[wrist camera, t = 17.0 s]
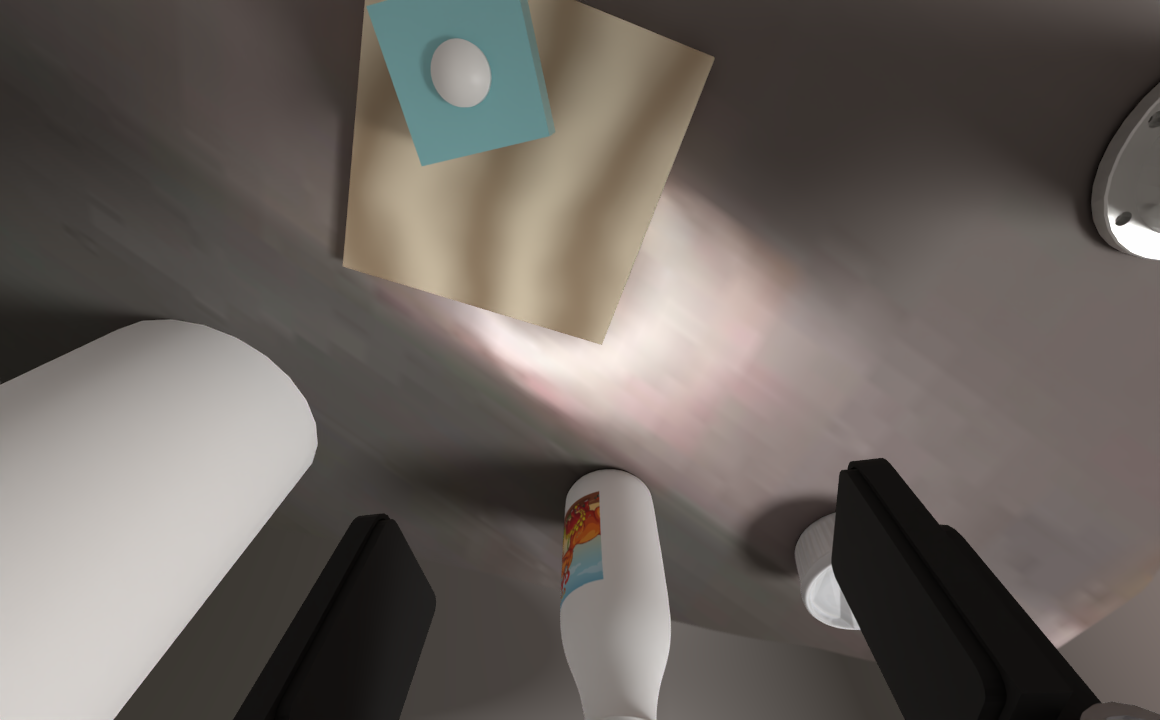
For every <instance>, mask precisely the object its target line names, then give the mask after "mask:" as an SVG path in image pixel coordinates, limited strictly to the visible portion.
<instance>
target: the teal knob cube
mask: <svg viewBox="0 0 1160 720" xmlns="http://www.w3.org/2000/svg"><path fill="white" fill-rule="evenodd" d="M366 7H367V10H368V13H369V16H370V19H371V22H372V24H373V27H374V30H375V33H376V36H377V39H378V42H379V45H380V48H381V50H382V53H383V56H384V59H385V62H386V65H387V68H388V71H389V73H390V76H391V79H392V82H393V85H394V88H395V91H396V94H397V97H398V99H399V102H400V105H401V108H402V111H403V114H404V117H405V120H406V122H407V125H408V128H409V131H410V134H411V137H412V140H413V143H414V146H415V148H416V151H417V154H418V157H419V160H420V163H421V166H426V165H430V164H434V163H438V162H443V161H447V160H451V159H455V158H460V157H464V156H468V155H472V154H476V153H481V152H485V151H489V150H493V149H498V148H502V147H506V146H510V145H514V144H519V143H523V142H527V141H531V140H536V139H540V138H544V137H548V136H551V135H552V134H553V133H555V127H554V122H553V118H552V113H551V108H550V104H549V99H548V94H547V89H546V85H545V80H544V75H543V71H542V66H541V61H540V57H539V52H538V47H537V42H536V38H535V33H534V28H533V24H532V19H531V14H530V10H529V5H528V0H386V1H383V2H379V3H376V4H372V5H368V6H366Z"/></svg>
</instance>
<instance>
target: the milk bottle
mask: <svg viewBox="0 0 1160 720" xmlns="http://www.w3.org/2000/svg"><path fill="white" fill-rule="evenodd" d="M560 606H561V607H560V609H561V610H560V622H561V623H560V624H561V636H562V641H563V647H564V651H565V655H566V658H567V661H568V664H569V667H570V669H571V672H572V674H573V677H574V679H575V682H576V685H577V687H578V691H579V694H580V698H581V702H582V707H583V712H584V718H585V720H657V719H656V712H657V701H658V694H659V688H660V684H661V680H662V677H663V673H664V670H665V666H666V662H667V658H668V654H669V648H670V638H671V620H670V611H669V602H668V594H667V587H666V581H665V574H664V568H663V561H662V555H661V549H660V543H659V537H658V530H657V524H656V518H655V512H654V507H653V502H652V497H651V494H650V491H649V490H648V488H647V487H646V485H645V484H644V483H643V482H642V481H641V480H640V479H638V478H637V477H636V476H634V475H632V474H630V473H628V472H625V471H621V470H615V469H604V470H597V471H594V472H591V473H588V474H586V475H584V476H582V477H581V478H580V479H579V480H577V481H576V482H575V484H574V485H573V486H572V487H571V489H570V490H569V492H568V494H567V497H566V505H565V519H564V537H563V555H562V577H561V603H560Z"/></svg>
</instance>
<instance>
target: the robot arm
mask: <svg viewBox="0 0 1160 720" xmlns="http://www.w3.org/2000/svg"><path fill="white" fill-rule="evenodd" d="M1091 208H1092V215H1093V221H1094V223H1095V226H1096V228H1097V230H1098V232H1099V235H1100V236H1101V237H1102V238H1103V239H1104V240H1105V241H1106V242H1107V243H1108V244H1109V245H1110V246H1112V247H1113V248H1115V249H1117V250H1119V251H1120V252H1122V253H1125V254H1129V255H1132V256H1136V257H1139V258H1142V259H1149V260H1156V261H1160V83H1159V84H1158V85H1156V86H1155V87H1154V88H1153V89H1152V90H1151V91H1150V92H1149V93H1148V94H1147V95H1146V96H1145V97H1144V98H1143V99H1142V100H1141V101H1140V103H1139V104H1138V105H1137V106H1136V107H1135V109H1134V110H1133V111H1132V112H1131V113H1130V114H1129V116H1128V117H1127V118H1126V119H1125V120H1124V122H1123V124H1122V125H1121V127H1120V128H1119V130H1118V131H1117V133H1116V134H1115V136H1114V137H1113V139H1112V140H1111V142H1110V143H1109V145H1108V148H1107V150H1106V152H1105V154H1104V156H1103V158H1102V160H1101V162H1100V164H1099V167H1098V170H1097V174H1096V177H1095V180H1094V184H1093V190H1092V200H1091ZM831 564H832V569H833V573H834V576H835V578H836V581H837V583H838V585H839V587H840V589H841V591H842V593H843V595H844V597H845V599H846V601H847V603H848V605H849V607H850V609H851V611H852V613H853V615H854V617H855V619H856V621H857V623H858V625H859V627H860V629H861V631H862V633H863V635H864V637H865V639H866V642H867V644H868V646H869V648H870V650H871V652H872V654H873V656H874V658H875V660H876V662H877V664H878V666H879V668H880V670H881V672H882V674H883V676H884V678H885V680H886V682H887V684H888V686H889V688H890V690H891V692H892V694H893V696H894V698H895V700H896V702H897V704H898V707H899V709H900V711H901V713H902V715H903V716H904V718H905V720H1160V714H1157V713H1155V712H1152V711H1149V710H1146V709H1144V708H1141V707H1138V706H1135V705H1129V704H1123V703H1116V702H1107V703H1101V702H1100V701H1099V699H1098V698H1097V697H1096V696H1095V695H1094V693H1093V692H1092V691H1091V690H1090V689H1089V687H1088V686H1087V685H1086V684H1085V683H1084V681H1083V680H1082V679H1081V678H1080V677H1079V675H1078V674H1077V673H1076V672H1075V671H1074V669H1073V668H1072V667H1071V666H1070V665H1069V664H1068V662H1067V661H1066V660H1065V659H1064V657H1063V656H1062V655H1061V654H1060V653H1059V651H1058V650H1057V649H1056V648H1055V647H1054V645H1053V644H1052V643H1051V642H1050V641H1049V639H1048V638H1047V637H1046V636H1045V635H1044V633H1043V632H1042V631H1041V630H1040V629H1039V627H1038V626H1037V625H1036V624H1035V623H1034V621H1033V620H1032V619H1031V618H1030V617H1029V615H1028V614H1027V613H1026V612H1025V611H1024V610H1023V608H1022V607H1021V606H1020V605H1019V604H1018V602H1017V601H1016V600H1015V599H1014V598H1013V596H1012V595H1011V594H1010V593H1009V592H1008V590H1007V589H1006V588H1005V587H1004V586H1003V584H1002V583H1001V582H1000V581H999V580H998V578H997V577H996V576H995V575H994V574H993V572H992V571H991V570H990V569H989V568H988V566H987V565H986V564H985V563H984V562H983V560H982V559H981V558H980V557H979V556H978V554H977V553H976V552H975V551H974V550H973V548H972V547H971V546H970V545H969V544H968V542H967V541H966V540H965V539H964V538H963V537H962V536H961V535H960V534H959V533H958V532H957V531H956V530H955V529H953V528H952V527H950V526H948V525H939V524H938V523H937V521H936V520H935V519H934V518H933V516H932V515H931V514H930V513H929V511H928V510H927V509H926V508H925V506H924V505H923V504H922V503H921V501H920V500H919V499H918V498H917V496H916V495H915V494H914V493H913V491H912V490H911V489H910V488H909V486H908V485H907V484H906V483H905V481H904V480H903V479H902V478H901V476H900V475H899V474H898V473H897V471H896V470H895V469H894V468H893V467H892V465H891V464H890V463H889V462H888V461H887V460H886V459H884V458H878V459H869V460H860V461H852V462H850V463H849V465H848V470H841V472H840V475H839V484H838V494H837V505H836V515H835V525H834V535H833V546H832V556H831ZM435 607H436V598H435V594H434V592H433V590H432V588H431V586H430V584H429V582H428V581H427V579H426V577H425V575H424V573H423V571H422V570H421V567H420V566H419V564H418V562H417V560H416V558H415V556H414V554H413V552H412V551H411V549H410V547H409V545H408V543H407V541H406V539H405V538H404V536H403V534H402V532H401V530H400V528H399V526H398V524H397V523H396V521H395V520H393V519H390V518H389V517H388V515H386V514H374V515H365V516H358V517H357V518H355V519H354V520H353V522H352V523H351V525H350V526H349V528H348V530H347V531H346V533H345V535H344V536H343V538H342V540H341V541H340V543H339V544H338V546H337V548H336V549H335V551H334V553H333V555H332V556H331V558H330V559H329V561H328V563H327V565H326V566H325V568H324V569H323V571H322V573H321V575H320V576H319V578H318V580H317V581H316V583H315V585H314V586H313V588H312V589H311V591H310V593H309V595H308V596H307V598H306V600H305V601H304V603H303V604H302V606H301V608H300V610H299V611H298V613H297V614H296V616H295V618H294V619H293V621H292V623H291V624H290V626H289V628H288V629H287V631H286V633H285V634H284V636H283V638H282V639H281V641H280V643H279V644H278V646H277V648H276V649H275V651H274V653H273V654H272V656H271V658H270V659H269V661H268V663H267V664H266V666H265V668H264V669H263V671H262V673H261V674H260V676H259V677H258V679H257V681H256V682H255V684H254V686H253V687H252V689H251V691H250V692H249V694H248V696H247V697H246V699H245V701H244V703H243V704H242V706H241V708H240V709H239V711H238V712H237V714H236V716H235V717H234V719H233V720H399V718H400V715H401V712H402V709H403V706H404V703H405V700H406V697H407V694H408V691H409V687H410V685H411V682H412V679H413V676H414V673H415V670H416V667H417V663H418V661H419V657H420V654H421V651H422V648H423V645H424V642H425V639H426V636H427V633H428V630H429V627H430V624H431V621H432V618H433V615H434V612H435Z"/></svg>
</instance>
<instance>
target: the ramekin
mask: <svg viewBox="0 0 1160 720" xmlns="http://www.w3.org/2000/svg"><path fill="white" fill-rule="evenodd" d="M835 515H836V512H835V513H832V514H829V515H826V516H824V517H822V518H820V519H818V520H817V521H815V522H814V523H812V524H811V525H810V526H809V527H808V528H807V529H806V530H805V531H804V532H803V533H802V534H801V536H800V538H799V540H798V542H797V545H796V547H795V561H796V565H797V570H798V574H799V578H800V582H801V596H802V599H803V602H804V604H805V606H806V608H807V610H808V611H809V613H810V614H811V615H812V616H813V617H815V618H816V619H817V620H819V621H821V622H823V623H825V624H827V625H830V626H833V627H837V628H842V629H850V630H861V629H860V627H859V625H858V623H857V621H856V619H855V617H854V615H853V613H852V611H851V609H850V607H849V605H848V603H847V601H846V599H845V597H844V595H843V593H842V591H841V589H840V587H839V585H838V583H837V581H836V578H835V576H834V573H833V569H832V564H831V556H832V546H833V535H834V525H835Z"/></svg>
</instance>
